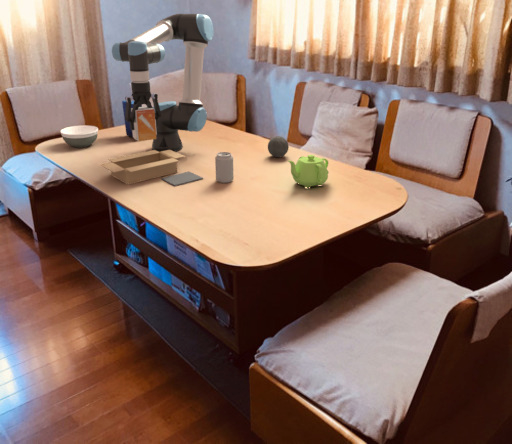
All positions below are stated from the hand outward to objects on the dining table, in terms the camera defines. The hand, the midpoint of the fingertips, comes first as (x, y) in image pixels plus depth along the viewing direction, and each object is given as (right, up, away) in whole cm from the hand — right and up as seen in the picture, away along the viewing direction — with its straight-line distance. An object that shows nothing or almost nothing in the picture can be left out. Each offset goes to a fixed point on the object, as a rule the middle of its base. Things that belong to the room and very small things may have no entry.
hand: (144, 135), depth 226 cm
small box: (0, -1, +1) cm, 2 cm away
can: (+34, -19, 0) cm, 39 cm away
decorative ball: (+58, -5, +31) cm, 66 cm away
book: (-18, +8, +62) cm, 65 cm away
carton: (-2, -16, +8) cm, 18 cm away
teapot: (+69, -21, -5) cm, 72 cm away
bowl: (-43, +3, +49) cm, 65 cm away
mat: (+16, -18, +1) cm, 24 cm away
